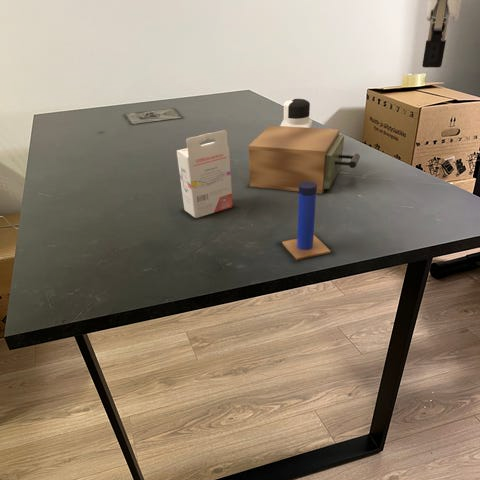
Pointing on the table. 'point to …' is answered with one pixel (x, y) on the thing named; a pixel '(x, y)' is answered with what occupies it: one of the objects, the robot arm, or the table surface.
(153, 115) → the mousepad
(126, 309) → the table surface
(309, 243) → the marker
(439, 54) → the robot arm
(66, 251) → the table surface
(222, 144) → the ink cartridge box
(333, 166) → the drawer
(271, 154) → the cabinet
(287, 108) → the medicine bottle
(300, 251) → the coaster
